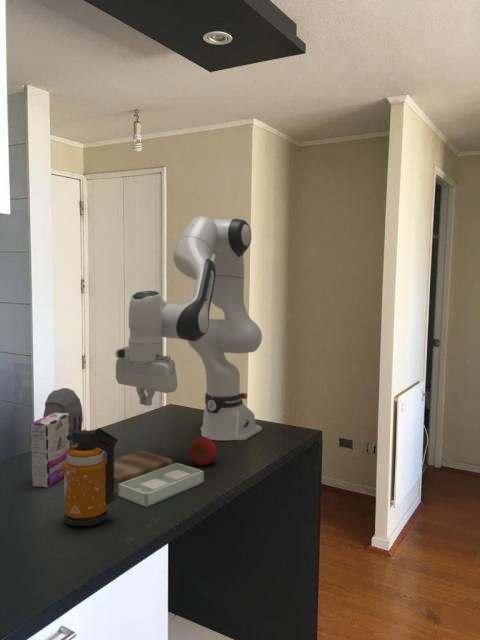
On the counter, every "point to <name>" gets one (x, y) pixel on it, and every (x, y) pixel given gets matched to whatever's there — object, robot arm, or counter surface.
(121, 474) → the board
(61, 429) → the candy bar box
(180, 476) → the tile
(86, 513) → the canister
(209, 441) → the tomato
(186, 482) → the tray
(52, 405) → the small grey backpack
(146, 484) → the tile
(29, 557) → the counter surface
